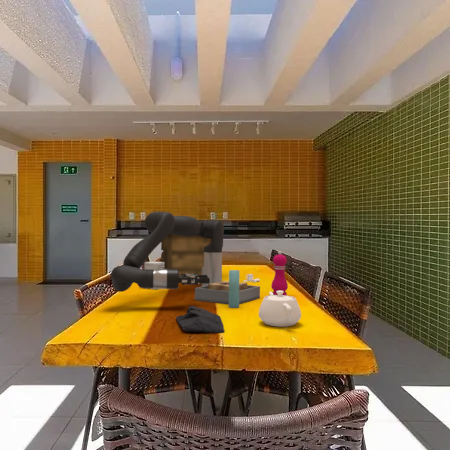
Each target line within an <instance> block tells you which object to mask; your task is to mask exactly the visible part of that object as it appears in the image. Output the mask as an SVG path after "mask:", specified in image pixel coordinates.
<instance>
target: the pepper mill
mask: <svg viewBox="0 0 450 450" xmlns="http://www.w3.org/2000/svg"><path fill="white" fill-rule="evenodd" d="M287 262H288V259H287V257H286V256H285V255H284V254H283V253H282V251H281V250H279V251H278V252H277V254H276V255H275V256H273V259H272V263H273V264H274V266H273V269H274V278H273V279H272V281H271V286H270V287H271V290H273V291H271V292H272V293H273V295H278V294H277V292H276V291H284V293H283V294H282V295H286V296H288V295H287V294H288V292H287V290H288V288H289V286H288V282H287V279H286V276H285V270H286V264H287Z"/></svg>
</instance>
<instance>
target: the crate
mask: <svg viewBox="0 0 450 450" xmlns="http://www.w3.org/2000/svg"><path fill="white" fill-rule="evenodd" d="M220 221H221V220H220ZM221 222H222V223H223V224H224V221H221ZM211 243H212V238H204V237H201V236H197V235H195V236H191V237H189V236H181V235H175V234H171V233H170V234H169V235H168V236H167V237H166V238H164V240H163V241H162V242H161V243H160V244H161V247H160V249H161V255H160V256H161V257H160V258H159V262H165V264H164V269H178V270H179V275H181V274H183V273H187V274H197V275H202V267H204V247H205V246H207V245H209V244H211Z"/></svg>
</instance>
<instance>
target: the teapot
mask: <svg viewBox="0 0 450 450" xmlns="http://www.w3.org/2000/svg"><path fill="white" fill-rule="evenodd" d="M272 292H273V291H269V292H268V293H269V294H268V295H266V296H264V297H263V300H262V302H261V304H260V306H259V309H258V317H259V319H260V320H261V321H262V322H263V323H264V324H265V325H267V326H272V327H278V328H279V327H291V326H292V327H293V326H295V325H296V324H297V323H298V322H300V320H301V318H302V312H301V311H302V310H301V308H300V305H299V303H298V301H297V298H296V297H295V296H291V295H287V296H286V295H282V294H283V293H284V291H276V292H277V294H278V295H273V293H272Z"/></svg>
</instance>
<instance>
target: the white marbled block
mask: <svg viewBox="0 0 450 450" xmlns="http://www.w3.org/2000/svg"><path fill="white" fill-rule="evenodd" d="M164 264H165V262H161V261H145V262H144V268H143V269H164ZM150 289H151V290H158V289H157V288H150Z"/></svg>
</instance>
